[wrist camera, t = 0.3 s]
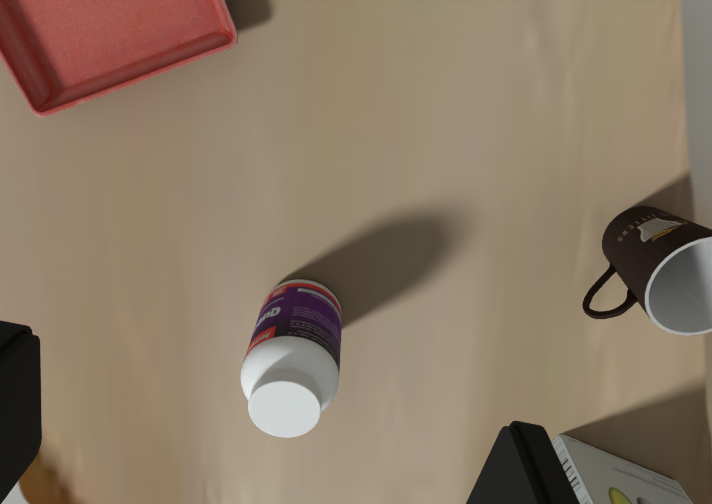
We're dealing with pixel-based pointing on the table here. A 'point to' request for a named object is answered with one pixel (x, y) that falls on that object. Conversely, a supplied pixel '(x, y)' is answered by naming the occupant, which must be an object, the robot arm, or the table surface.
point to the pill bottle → (293, 358)
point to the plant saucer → (104, 44)
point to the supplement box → (613, 477)
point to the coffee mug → (660, 269)
